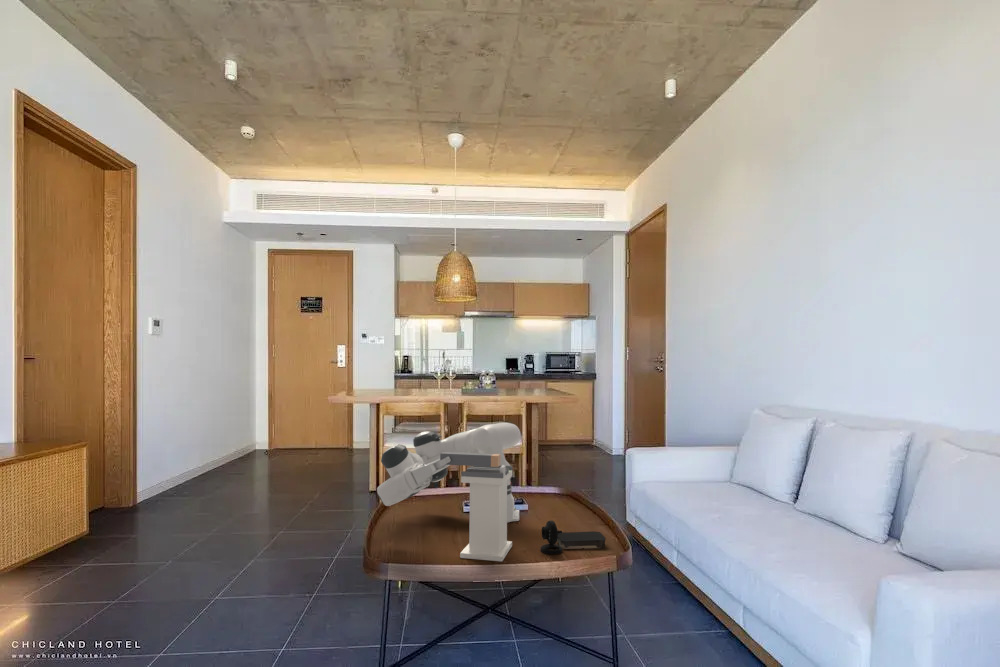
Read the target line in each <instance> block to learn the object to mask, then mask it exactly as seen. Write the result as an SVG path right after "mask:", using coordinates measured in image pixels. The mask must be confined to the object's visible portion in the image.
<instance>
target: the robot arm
mask: <svg viewBox="0 0 1000 667" xmlns="http://www.w3.org/2000/svg"><path fill="white" fill-rule="evenodd" d="M520 430H521V429H520V428H519V427H518V426H517V425H516V424H514V423H511V422H497V423H490V424H489V423H488V424H484V425H482V426H480V427H478V428H473V429H470V430H465V431H461V432H458V433H455V434H452V435H450V436H448V437H445V438H443V439H441V438H442V435H440V434H437V433H436V432H434V431H431V430H430V431H427V430H424V431H422V432H420V433H418V434H417V435H416V436H414V437H413V439H412V442H413V447H414V450H415V452H411V451H410V450H408V448H407V446H406V445H403V444H400V443H399V444H394V445H391V446H390V447H388V448H387V449H385V451H384V452H383V453H382V455H381V459H380V462H381V464H382V466H384V468H385V470H386V472H387V473H388V474H389V476H390V477H389V478H388V479H386V480H385V481H383V482H382V483H381V484H379V485H378V486H377V488H376V493H377V496H378V498H379V500H380V502H381V503H382V504H383V505H384V506H386V507H390V506H393V505H395V504H398V503H400V502H402V501H404V500H407V499H410V498H411V497H413V496H415V495H417V494H418V493H420V492H421V490H424V489H426V488H427V487H429V486H430V484H431V483H436V482H439V481H442V480H443V479H444V478H445V477H446V476H447V475H448V467H449V466H451V465H445V464H447V463H449V462H450V461H452V459H451V457H450V456H448V457H446V458H444V459H442V460H440V453H442V452H459V453H482V454H501V465H505V466H511V464H510V463H509V462H508V460H506V458H505V454H504V450H507V449H510V448H513V447H514V446H516V445H517V444H518V443H519V442H520V440H521V434H522V433H521V431H520ZM512 489H513V488H512V482H511V478H509V479H508V480H507V523H510V522H511V523H512V522H518V521H520V509H519V510H516V509H517V507H515V498H514V496H513V494H512Z"/></svg>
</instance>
